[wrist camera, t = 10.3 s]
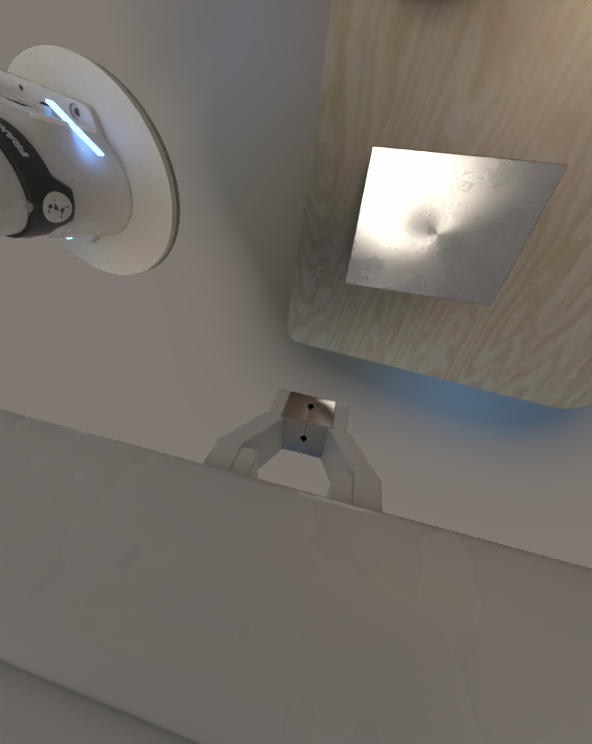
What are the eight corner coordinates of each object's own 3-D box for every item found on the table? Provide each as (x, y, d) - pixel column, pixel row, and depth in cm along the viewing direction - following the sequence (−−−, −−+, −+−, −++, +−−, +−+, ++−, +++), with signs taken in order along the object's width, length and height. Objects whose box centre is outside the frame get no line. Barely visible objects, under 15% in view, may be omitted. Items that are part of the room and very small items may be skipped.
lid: (345, 281, 32) (344, 283, 31) (372, 146, 25) (372, 145, 24) (487, 303, 30) (490, 306, 29) (563, 165, 23) (569, 164, 22)
